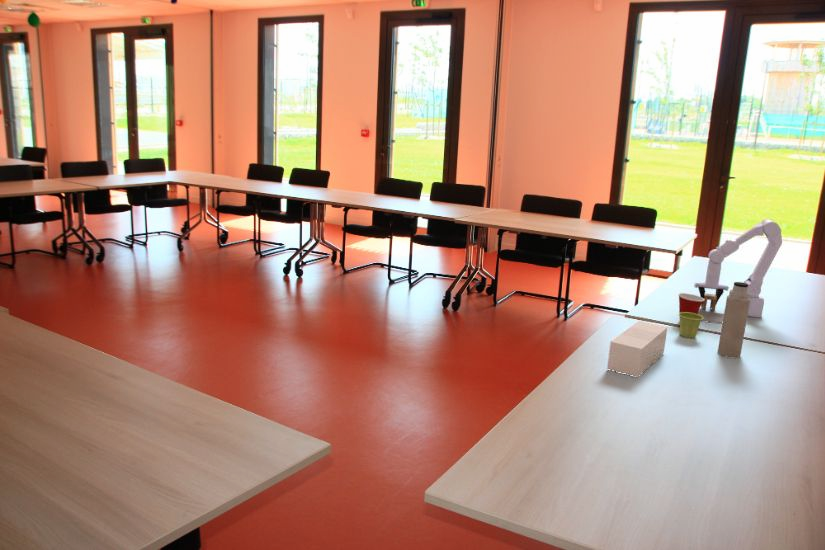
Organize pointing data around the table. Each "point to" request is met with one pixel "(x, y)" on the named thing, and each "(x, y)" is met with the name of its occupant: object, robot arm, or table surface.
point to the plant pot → (689, 324)
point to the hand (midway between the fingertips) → (708, 303)
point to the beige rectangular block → (637, 348)
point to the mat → (711, 316)
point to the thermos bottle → (734, 321)
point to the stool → (713, 301)
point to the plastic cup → (689, 303)
